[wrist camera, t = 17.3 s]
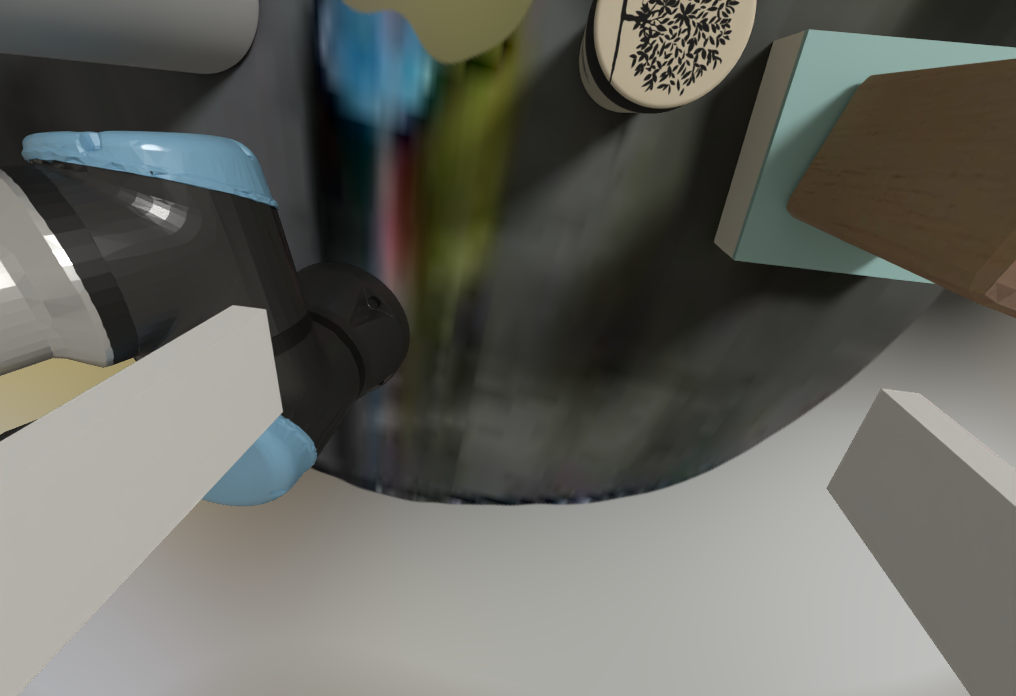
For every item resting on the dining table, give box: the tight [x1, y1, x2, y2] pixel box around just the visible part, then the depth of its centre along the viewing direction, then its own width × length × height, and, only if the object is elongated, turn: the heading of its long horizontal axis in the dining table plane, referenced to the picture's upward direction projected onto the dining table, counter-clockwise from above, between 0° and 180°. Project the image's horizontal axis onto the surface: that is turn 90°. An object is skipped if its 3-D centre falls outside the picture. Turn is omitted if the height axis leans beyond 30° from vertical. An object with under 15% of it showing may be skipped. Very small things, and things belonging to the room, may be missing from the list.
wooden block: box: [786, 58, 1016, 318], centre depth 26 cm, size 10×10×20 cm
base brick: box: [714, 30, 1016, 284], centre depth 37 cm, size 16×16×6 cm
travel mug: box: [579, 0, 756, 113], centre depth 30 cm, size 8×8×18 cm
